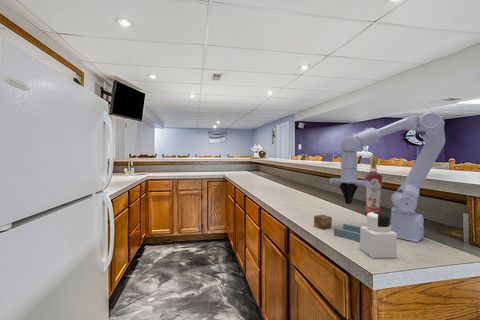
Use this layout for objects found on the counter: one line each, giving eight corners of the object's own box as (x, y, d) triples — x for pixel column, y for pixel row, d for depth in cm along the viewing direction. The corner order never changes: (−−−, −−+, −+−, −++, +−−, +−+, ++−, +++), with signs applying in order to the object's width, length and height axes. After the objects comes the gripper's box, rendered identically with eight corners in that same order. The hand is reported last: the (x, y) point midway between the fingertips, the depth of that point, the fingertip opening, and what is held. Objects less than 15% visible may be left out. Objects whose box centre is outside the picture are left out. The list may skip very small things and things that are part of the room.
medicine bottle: (381, 248, 78) (382, 210, 77) (397, 258, 71) (397, 216, 70) (359, 248, 78) (360, 210, 77) (372, 258, 70) (373, 216, 70)
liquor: (365, 216, 117) (366, 156, 116) (362, 212, 124) (363, 156, 123) (383, 217, 115) (384, 157, 114) (379, 213, 122) (380, 156, 121)
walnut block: (331, 228, 99) (331, 217, 99) (323, 230, 97) (324, 218, 97) (321, 225, 103) (321, 214, 103) (313, 226, 101) (314, 215, 101)
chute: (372, 236, 89) (372, 229, 89) (362, 242, 83) (362, 234, 83) (344, 230, 96) (344, 223, 96) (333, 234, 91) (333, 228, 91)
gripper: (373, 168, 92) (372, 205, 93) (336, 166, 103) (335, 199, 104) (365, 169, 88) (364, 207, 88) (327, 167, 99) (326, 201, 99)
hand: (348, 203), depth 96 cm, fingers closed
